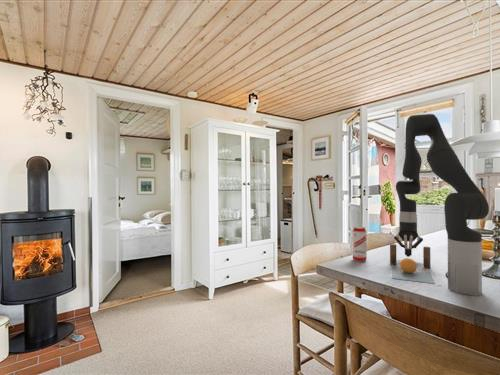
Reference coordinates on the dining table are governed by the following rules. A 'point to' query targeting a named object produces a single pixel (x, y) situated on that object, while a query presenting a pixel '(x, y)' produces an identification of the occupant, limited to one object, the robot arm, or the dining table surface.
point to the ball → (408, 265)
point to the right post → (426, 257)
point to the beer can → (359, 244)
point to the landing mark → (413, 276)
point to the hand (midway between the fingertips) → (408, 256)
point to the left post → (393, 254)
